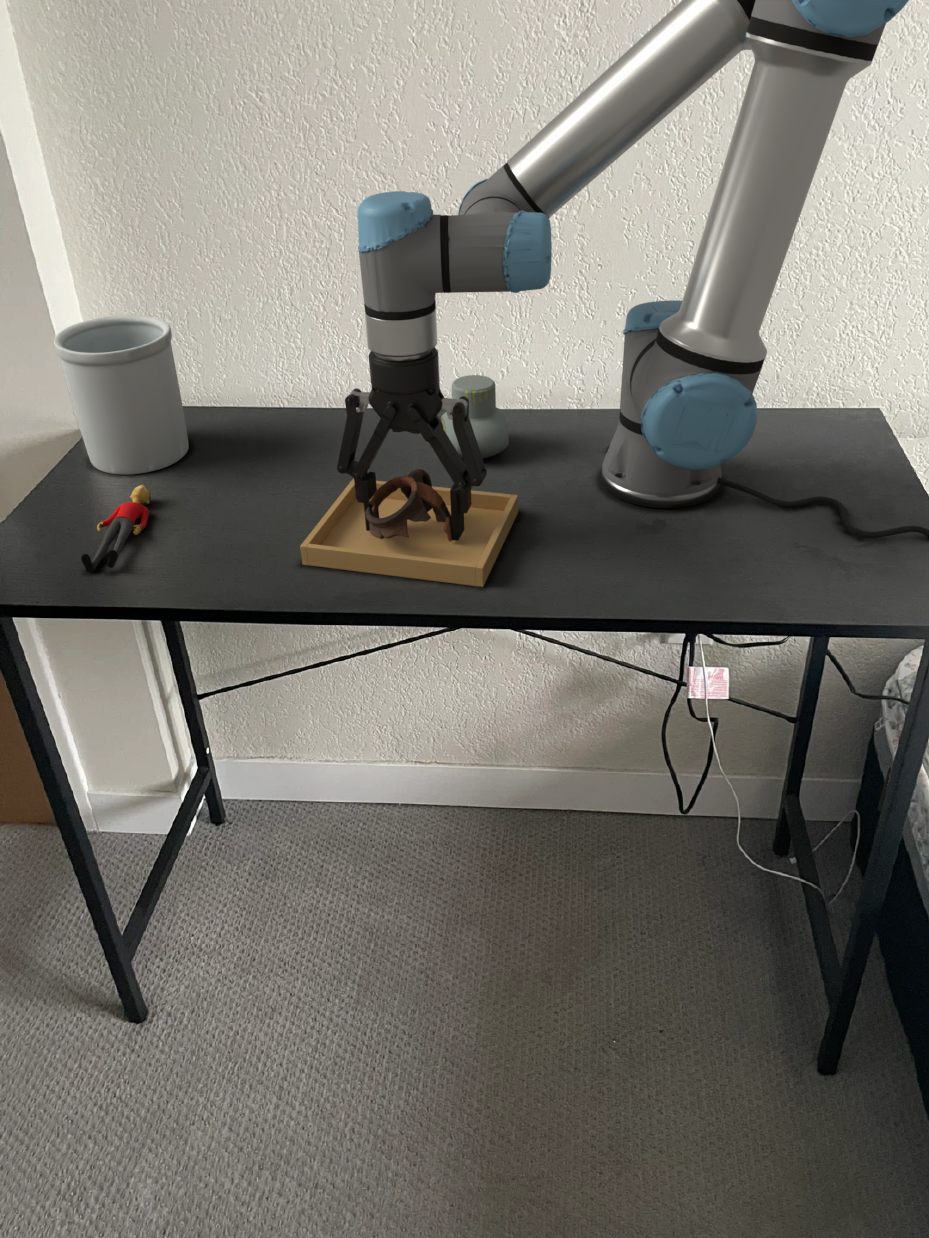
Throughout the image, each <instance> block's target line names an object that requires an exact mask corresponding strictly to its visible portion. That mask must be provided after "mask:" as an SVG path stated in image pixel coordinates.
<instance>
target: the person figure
mask: <svg viewBox="0 0 929 1238" xmlns="http://www.w3.org/2000/svg"><path fill="white" fill-rule="evenodd" d="M151 495H152V493H151V490H150V487H148V486H147V485H145V484H140V485H138V486H135V488H133V490H132V492H131V494H130V496H129V499H131V501H126V502H123V503H122V504H120V505H118V506H117V507H116V508H115V510H113V512H112V514H111V515H109V517H108V518H107V519H104V520H102V521H100V522H98V524H97V526H96V528H97V529H96V530H97V531H98V532H101V528H104V527H108V528H107V530H106V531H105V534H104V536H103V538H102V541H101V543H100V545H99V547H98V549H97V550H96V553H95V555H94V556H93V558H91V556H90V555H89V554H88V553H82V555H81V558H80V560H81V562H82V564H83V567H84V568H85V570H86V572H87V573H89V574H92V573H94V572H95V570H96V569H97V567H98V566H99V564H100V563H101V562H102V560H103V558H104V557H105V555H106V554H107V553H108V555H107V556H108V561H107V564H106V566H107V567H108V568H109V569H113V568H114V567H115V565H116V562H117V560H118V558H119V556H120V554H121V552H122V551H123V548H124V545H125V543H126V541H127V539H128V538H129V536H130V535H131V533H133V535H135V536H136V535H139V534H140V533H141V532H142V531H143V530H145V528H146V527H147V524H148V519H149V515H150V510H149V508H148V507H146V506H147V505H148V504H150V501H151V497H152V496H151ZM138 519H140V523H139V524H136V520H138ZM132 530H134V531H133V532H132ZM116 537H117V539H116V541H115V544H114V546H113V548H112V549H111V550H109V547H110V545H111V544H112V542H113V541H114V539H115V538H116ZM108 550H109V551H108Z"/></svg>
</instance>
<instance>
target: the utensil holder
mask: <svg viewBox="0 0 929 1238" xmlns="http://www.w3.org/2000/svg"><path fill="white" fill-rule="evenodd" d="M172 338H173V334H172V329H171V325H170V324H169V323H168V321H166V320H164V319H162V318H159V317H157V316H152V315H144V314H118V315H107V316H102V317H96V318H92V319H87V320H83V321H80V322H77V323H75V324H72V325H69V326H68V327H65V328H64V329H62V330H60V331H59V332H58V333H57V334H56V335H55V336H54V338H53V346H54V350H55V352H56V355H57V356H58V357H59V359H60V365H61V367H62V371H63V375H64V378H65V381H66V386H67V388H68V391H69V392H68V393H69V395H70V398H71V403H72V406H73V409H74V413H75V416H76V421H77V423H78V428H79V430H80V433H81V437H82V440H83V443H84V446H85V450H86V452H87V456H88V458H89V461H90V463H91V465H92V466H93V467H94V468H95V469H97V470H99V471H100V472H104V473H107V474H111V475H123V476H124V475H125V476H127V475H129V476H130V475H138V474H139V475H140V474H146V473H150V472H155V471H158V470H161V469H164V468H167V467H169V466H170V467H171V466H172V465H173V464H176V463H177V462H178V461H180V460H181V459H183V458H184V457H185V455H186V454H187V453H188V450H189V438H188V437H189V436H188V430H187V423H186V418H185V412H184V405H183V400H182V395H181V390H180V386H179V385H180V384H179V378H178V374H177V373H178V372H177V367H176V363H175V357H174V351H173V346H172Z"/></svg>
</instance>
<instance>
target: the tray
mask: <svg viewBox="0 0 929 1238" xmlns="http://www.w3.org/2000/svg"><path fill="white" fill-rule="evenodd" d="M386 482H387V481H385V480H384V481H383V480H376V486H377V490H378V489H379V488H380V487H381V486H382V485H383V484H385V483H386ZM432 488H433V489H434V490H435V491H436V492H437V493H438V494H439V495H440V496H441V497H442V499H443V501H444V502H445V504H446V506H447V508H448V511H449V512H450V515H451V501H450V490H451V488H452V487H443V486H433V485H432ZM407 500H408V499H407V497H406V496H405V494H403V493H402V492H401V489H400V488H398V489H397V491H395V492H393V493H391V494H390V495H389V496H388V497H387V498H385V499H384V500H383V501H382V503H381V504H380V506H379V507H378V508H379V518H384V517H387V516H390V515H392V514H394V513H395V512H397V511H398V510H399V509H400V508H401V507H402V506H403V505H404V504H405V503H406V502H407ZM471 502H472V504H471V507H470V509H469V511H468V512H467V513H464V531H463V533H462V535H461V537H460V539H459V541H457V540H452V541H451V542H450V541H449V540H448V537H447V534H446V533H445V532H444V530H443V528H444V525H445V522H437V520H436V516H435V513H434V512H433V508H432V509H431V510H430V511H428V512H427V513H428V514H429V515H430V516H431V519H430V520H428V521H426V522H423V521H418V522H413V521H411V520H407V531H408V535H409V538H407V537H403V536H400V535H398V536H394V537H392V538H384V539H379V538H376V537H374V536H373V535H372V534H371V533H370V531H366V523H365V512H364V503H359V502H358V501H357V499H356V493H355V483H354V478H353V477H352V479H351V480H350V482H349V483H348V485H347V486H346V487H345V488H344V490H343V491H342V492H341V493H340V495H339V496H338V497H337V498H336V500H335V501H334V502H333V504H332V505H331V506H330V507H329V509H328V510H327V511H326V512H325V514H323V516H322V518H321V519H320V520H319V521H318V522H317V523H316V525H315V526H314V527H313V529H312V530H311V532H310V533H309V534H308V536H307V537H306V538H305V539H304V541H303V542H302V543H301V545H300V546H299V549H300V555H301V563H302V564H301V565H303V566H309V567H310V566H311V567H320V568H325V569H326V568H328V569H335V570H342V571H344V570H345V571H351V572H352V571H353V572H359V573H367V574H375V575H383V576H392V577H399V578H406V579H414V580H423V581H431V582H432V581H433V582H439V583H448V584H455V585H463V586H469V587H470V586H471V587H479V588H480V587H481V588H483V587H484V586H485V584H486V581H487V580H488V577H489V575H490V574H491V572H492V569H493V567H494V565H495V563H496V561H497V558H498V556H499V554H500V552H501V550H502V548H503V546H504V543H505V542H506V539H507V537H508V535H509V533H510V531H511V529H512V526H513V525H514V522H515V520H516V518H517V516H518V514H519V495H518V494H512V493H511V494H510V493H500V492H492V491H491V492H490V491H482V490H473V489H471Z"/></svg>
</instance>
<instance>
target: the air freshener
mask: <svg viewBox="0 0 929 1238" xmlns="http://www.w3.org/2000/svg"><path fill="white" fill-rule="evenodd" d="M496 395H497V394H496V381H494V380H493V378H491V377H489V376H485V375H481V374H468V375H463V376H460V377H457V378H455V380H453V382H452V383H451V399H458V400H459V398H460V397H462V396H465V397H467V398H468V400H469V419H470V422H471V425H472V428H473V431H474V434H475V437H476V440H477V444H478V447H479V450H480V453H481V456H482V459H483V460H484V459H487V458H490V457H494V456H496V455H497V454H499V453H501V452H503V451H504V450H505V449H507V447H509V443H510V438H509V437H510V435H509V427H508V422H507V417H506V415H505V412H504V411H503V410H502V409H500V408H499V407H497V401H496V400H497V399H496V397H497V396H496ZM441 422H442V424H443V429H444V431H445V433H446V434H447V436H448V437H449V439H450V441H451V442H452V444H453V446H454V447H455V449H456V450H457V452H458V454H459V455H460V457H461V459H463V456H462V453H461V450H460V447H459V444H458V441H457V438H456V435H455V432H454V428H453V421H452V420H450V419H449V418H448V415H447V412H446V411H445V412H444V413H443V414H442V415H441Z"/></svg>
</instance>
